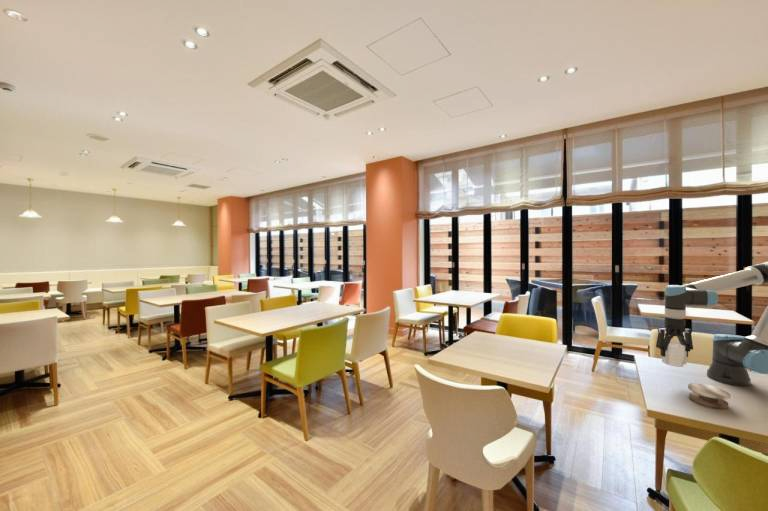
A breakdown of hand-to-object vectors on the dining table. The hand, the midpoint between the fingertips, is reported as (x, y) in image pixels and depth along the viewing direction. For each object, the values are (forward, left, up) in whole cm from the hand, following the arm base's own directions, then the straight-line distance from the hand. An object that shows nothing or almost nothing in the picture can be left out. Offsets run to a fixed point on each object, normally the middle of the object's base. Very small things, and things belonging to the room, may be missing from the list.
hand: (674, 363), depth 154 cm
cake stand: (-3, +16, -11) cm, 20 cm away
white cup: (0, 0, -1) cm, 1 cm away
